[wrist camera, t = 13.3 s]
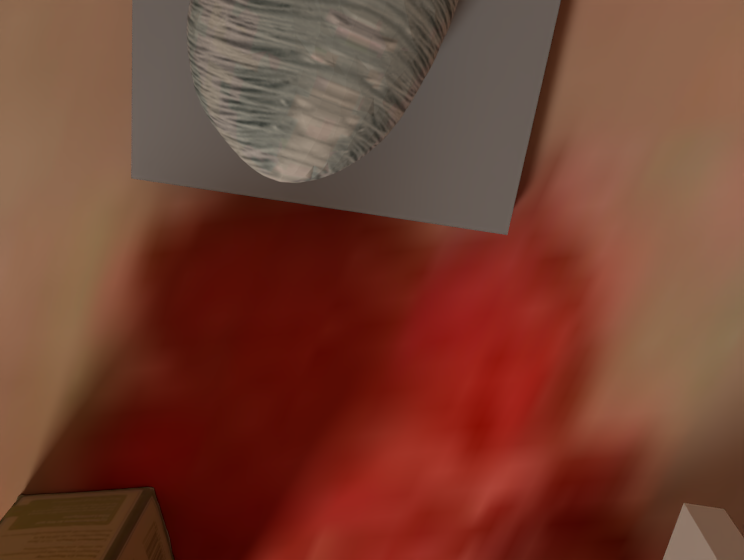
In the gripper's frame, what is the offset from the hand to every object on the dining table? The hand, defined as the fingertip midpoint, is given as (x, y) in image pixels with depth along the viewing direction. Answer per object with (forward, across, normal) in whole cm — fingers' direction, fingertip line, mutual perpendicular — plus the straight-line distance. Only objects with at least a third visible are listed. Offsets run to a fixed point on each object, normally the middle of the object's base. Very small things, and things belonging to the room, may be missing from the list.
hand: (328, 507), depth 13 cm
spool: (+20, +3, -10) cm, 23 cm away
